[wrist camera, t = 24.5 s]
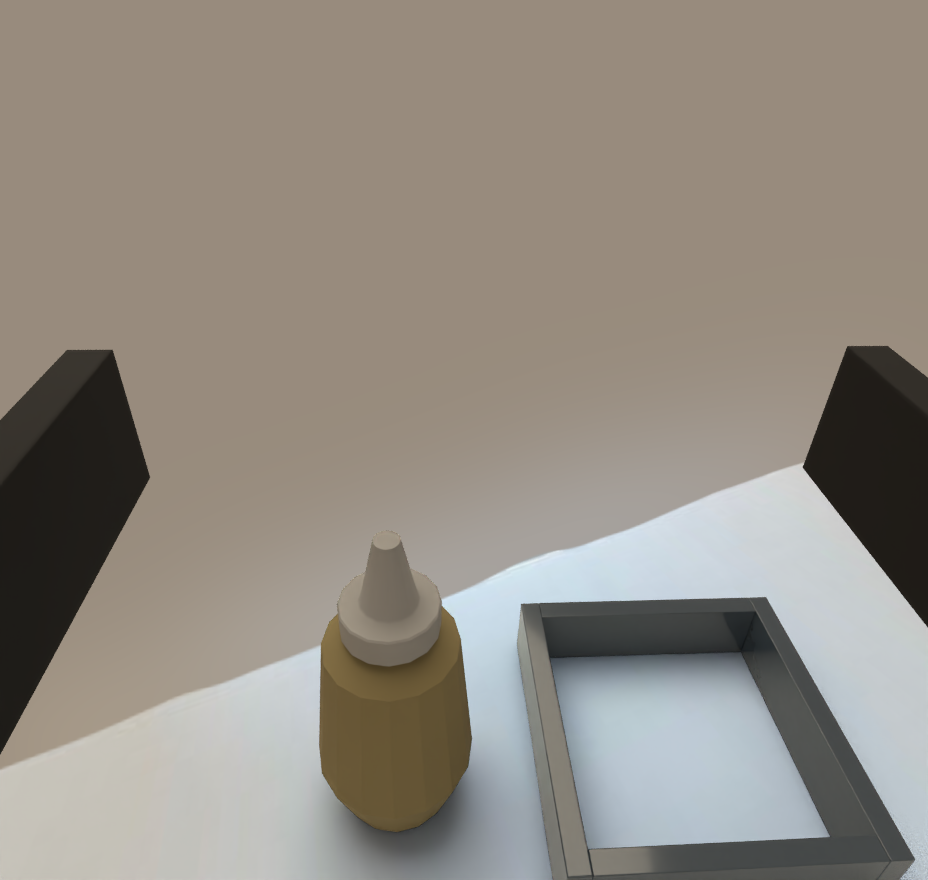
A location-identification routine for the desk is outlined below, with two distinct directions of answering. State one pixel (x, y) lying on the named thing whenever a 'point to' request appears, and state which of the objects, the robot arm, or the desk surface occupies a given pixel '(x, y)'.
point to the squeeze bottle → (392, 695)
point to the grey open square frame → (790, 703)
